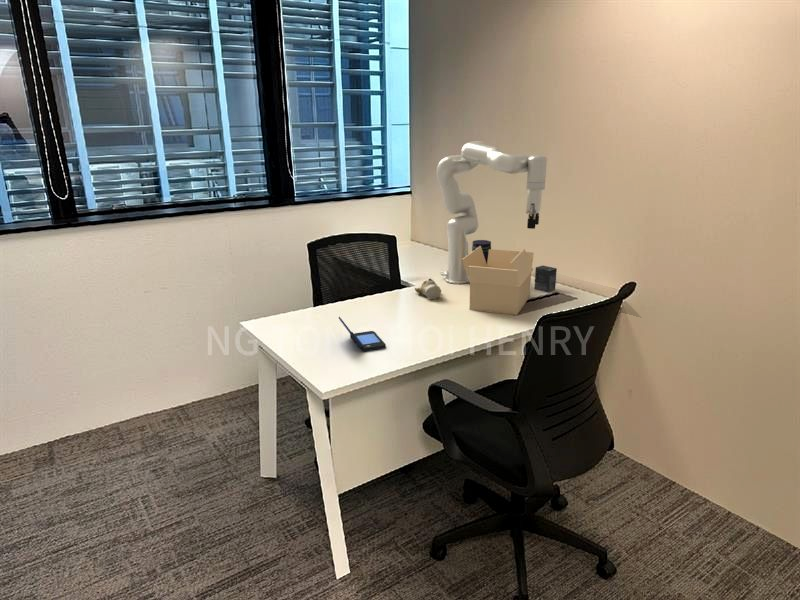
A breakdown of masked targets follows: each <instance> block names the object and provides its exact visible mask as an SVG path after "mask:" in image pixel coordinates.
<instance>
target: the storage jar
mask: <svg viewBox="0 0 800 600" xmlns="http://www.w3.org/2000/svg"><path fill="white" fill-rule="evenodd" d="M471 245H472V246H471V252H472V251H474V250H475V249H476V248H478V247H479V246H481V248H482V251H483V254H484V257H485V260H486V264H487V261H488V253H489V249H492V242H491V240H487V239H476V240H473V241H472V243H471Z"/></svg>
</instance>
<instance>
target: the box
mask: <svg viewBox="0 0 800 600" xmlns="http://www.w3.org/2000/svg"><path fill="white" fill-rule="evenodd" d="M557 270H558V269H557V267H551V266H548V265H540V266H536V267H535V272H534V274H535V275H534V276H535V277H534V290H537V291H541V292H546V293H550V292H553V291H556V281H557Z"/></svg>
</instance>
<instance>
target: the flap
mask: <svg viewBox="0 0 800 600" xmlns="http://www.w3.org/2000/svg"><path fill="white" fill-rule="evenodd" d="M519 252H520V253H519V254H518V255H517V257H516V258H515V259H514V260H513V261H512V262H511V263H510V264H511V267H512V269H513V270H518V278H519V286H521V285H522V284H523V282H524V281H525V280H526V278H527V277H528V276H529V275H530V273H531V274H532V272H533V270H534V269H533V265H532V266H531V264H530V261H529V259H528V256H527V254H526V252H527V251H526V250H525V248H524V249H522V250H521V251H519Z"/></svg>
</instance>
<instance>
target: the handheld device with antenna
mask: <svg viewBox="0 0 800 600" xmlns="http://www.w3.org/2000/svg"><path fill="white" fill-rule="evenodd" d="M338 319H339V321H340V322H341V324H342V325H343V326H344V328H345V329H346V330H347V331H348V333H349V337H350V339H352V340H353V342H354V343H355V344H356V346H357V347H358V349H359V350H360V352H361V353H362V352H363V353H364V352H370V351H374V350H380V349H381V350H382V349H385V348H386V347H387V345H386V343H385V341H383V339H382V338H381V337H380V336H379V334H377V333H376V331H374V330H368V331H362V332H354V331H351V330H350V328H349V326H348V325H347V324H346V323H345V322H344V320H343V319H342V318H341V317H340V316H338Z"/></svg>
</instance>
